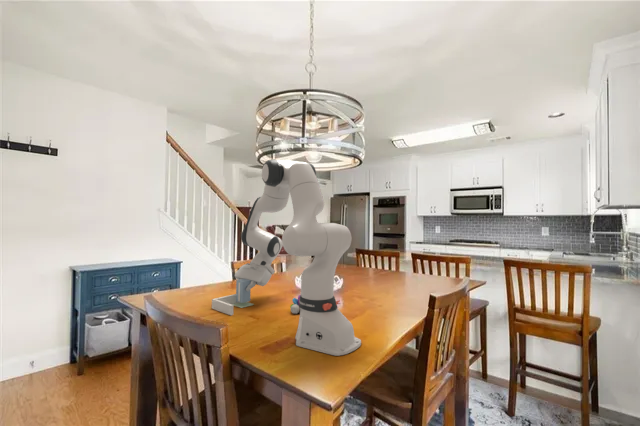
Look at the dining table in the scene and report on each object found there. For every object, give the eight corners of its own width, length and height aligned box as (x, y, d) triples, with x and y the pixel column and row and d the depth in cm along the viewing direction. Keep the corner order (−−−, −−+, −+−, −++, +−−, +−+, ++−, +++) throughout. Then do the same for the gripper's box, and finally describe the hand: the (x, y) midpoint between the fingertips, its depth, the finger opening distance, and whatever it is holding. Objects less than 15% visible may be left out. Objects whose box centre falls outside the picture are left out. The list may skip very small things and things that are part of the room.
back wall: (243, 301, 151) (243, 292, 151) (213, 308, 138) (213, 299, 138) (242, 300, 151) (242, 292, 151) (211, 308, 139) (211, 299, 139)
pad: (254, 304, 146) (254, 304, 146) (241, 308, 140) (241, 307, 140) (244, 301, 150) (244, 301, 150) (232, 304, 145) (232, 304, 145)
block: (250, 300, 146) (250, 280, 145) (241, 303, 142) (242, 281, 142) (244, 299, 148) (244, 278, 148) (235, 301, 145) (236, 280, 145)
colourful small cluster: (310, 316, 131) (310, 298, 131) (287, 314, 133) (287, 297, 133) (314, 310, 139) (314, 293, 139) (293, 308, 141) (293, 292, 141)
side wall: (233, 314, 131) (233, 305, 131) (230, 315, 130) (231, 305, 130) (215, 308, 139) (215, 299, 139) (213, 308, 138) (213, 299, 138)
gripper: (242, 258, 157) (224, 281, 150) (270, 263, 144) (252, 289, 137) (249, 266, 161) (232, 289, 153) (277, 272, 147) (260, 297, 140)
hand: (242, 289), depth 145 cm, fingers closed on block, 4 cm apart
